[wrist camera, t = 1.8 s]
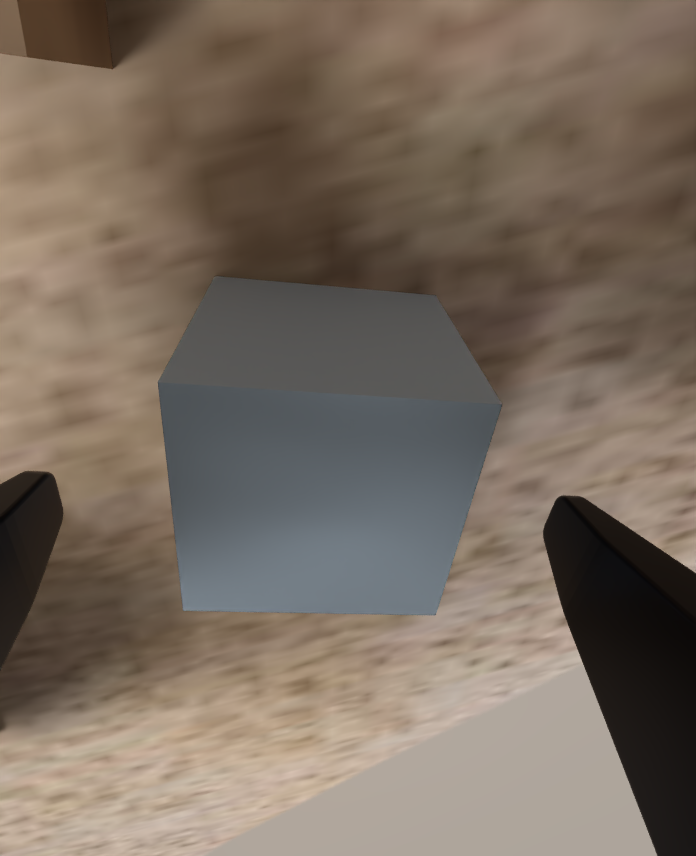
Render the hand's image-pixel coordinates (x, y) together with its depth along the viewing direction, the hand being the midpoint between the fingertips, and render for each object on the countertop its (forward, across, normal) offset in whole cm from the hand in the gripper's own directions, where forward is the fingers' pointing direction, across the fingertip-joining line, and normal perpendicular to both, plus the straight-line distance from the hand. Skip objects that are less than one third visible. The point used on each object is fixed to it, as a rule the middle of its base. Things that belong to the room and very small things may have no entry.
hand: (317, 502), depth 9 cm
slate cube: (+4, 0, 0) cm, 5 cm away
